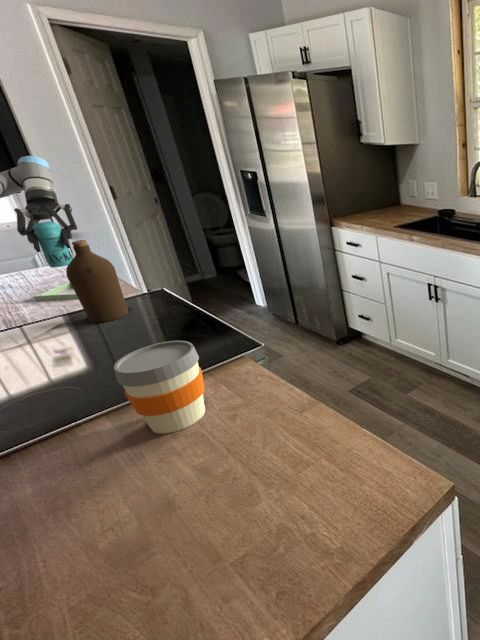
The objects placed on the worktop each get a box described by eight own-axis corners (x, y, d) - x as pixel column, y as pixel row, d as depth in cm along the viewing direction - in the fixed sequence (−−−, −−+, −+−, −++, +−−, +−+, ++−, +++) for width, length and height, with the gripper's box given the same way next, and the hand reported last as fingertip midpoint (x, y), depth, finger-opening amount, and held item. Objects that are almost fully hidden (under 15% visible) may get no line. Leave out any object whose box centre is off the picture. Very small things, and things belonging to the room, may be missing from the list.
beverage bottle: (46, 270, 145) (20, 214, 137) (68, 265, 150) (45, 210, 143) (59, 272, 143) (34, 215, 136) (82, 266, 149) (58, 211, 142)
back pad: (36, 302, 143) (33, 296, 142) (71, 288, 156) (68, 282, 155) (80, 300, 144) (77, 294, 144) (110, 286, 157) (107, 280, 156)
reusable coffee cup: (223, 416, 85) (202, 354, 80) (145, 450, 77) (116, 382, 71) (206, 392, 93) (186, 334, 88) (134, 420, 84) (107, 357, 79)
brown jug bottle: (139, 312, 135) (111, 238, 126) (101, 326, 125) (67, 247, 116) (117, 308, 138) (88, 235, 129) (78, 321, 129) (44, 244, 119)
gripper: (82, 198, 155) (95, 248, 150) (5, 204, 144) (15, 259, 138) (74, 185, 150) (88, 237, 144) (-7, 190, 138) (4, 247, 132)
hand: (52, 247), depth 141 cm, fingers closed on beverage bottle, 6 cm apart
